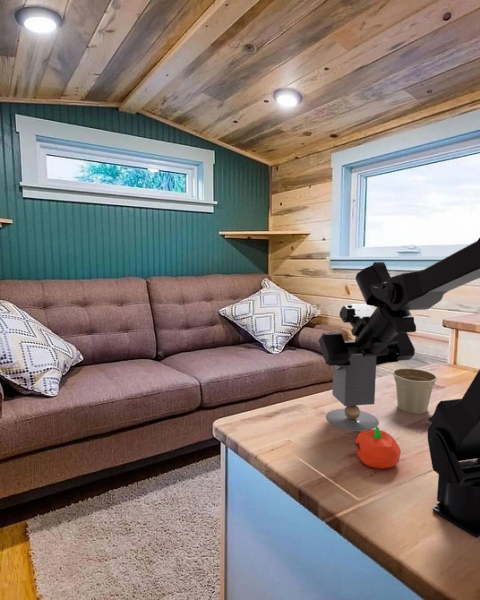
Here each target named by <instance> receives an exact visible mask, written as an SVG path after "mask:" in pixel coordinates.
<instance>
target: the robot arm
mask: <svg viewBox="0 0 480 600" xmlns="http://www.w3.org/2000/svg"><path fill="white" fill-rule="evenodd" d="M387 268H388V267H387V265H386V264H385V262H384V261H374V262H373V264H372V265H369V266H367V267H365V268H363V269H362V270H360V271H359V272H357V274H356V275H355V281H356V284H357V286H358V288H359V290H360V292H361V295H362V298H363V300H364V301H365V303H353V304H352V303H351V304H344V305H343V306H342V307H341V309H339V310H340V311H339V318H340V319H341V321H342V322H343V323H345V324H346V323H348V324H350V326H351V327H352V328H351V330H350V332H351V334H352V336H353V337H355V338H354V341H355V342H348V343H345V341H346V340H345V339H344V336H343V334H342V333H341V332H324V333H322V335H321V336H320V337H319V339H318V344H319V347H320V349H321V350H320V351H321V353H322V355H323V359H324V362H325V364H326V365H328V366H329V367H330V366H332V367H333V365H335V369H336V370H339V369H342V368H344V367H347V366H349V365H351V364H350V361H349V358H350V357H351V355H360V354H363V357H370V356H377V357H376V367H378V366H381V365H383V366H384V365H386V364H392V363H398V362H400V361H402V362H403V361H410V360H411V359H412V358H413V357H414V356H415V354H416V353H415V352H416V348H415V346H414V345H413V343H412V340H411V338H410V336H409V334H408V333H416V331H417V326H416V325H417V324H416V323H415V318H414V316H412V314H411V311H423V310H424V311H425V310H429V309H431V308H432V307H434V306H436V304H438V303H439V302H441V301H443V297H444V295H445V294H447V293H448V292H450V291H451V290H454V289H457V288H459V287H461V286H463V285H467V284H468V283H472V282H473V281H476V280H478V279H480V237H479V238H478V239H477V240H476V241H474V242H472V243H470V244H468V245H467V246H464V247H463V248H461V249H459V250H458V251H455V252H454V253H451V254H449V256H446V257H445V258H442V259H440V260H439V261H437V262H435V263H433V264H432V265H430V266H427V267H425V268H424V269H421V270H417V271H410V272H403V273H400V274H397V275H392V276H391V274H390V272H389V271H388V269H387ZM373 307H375V309H374V308H373ZM427 421H428V422H429V426H428V428H427V443H428V449H429V455H430V462H431V467H432V471H434V472H435V473H436V474H437V475H438V476H437V477H438V479H437V492H436V500H437V502H438V503H436V504H434V505H433V506H432V511H433V512H434V513H436V514H437V515H439V516H441V517H442V518H443V519H446V520H448V521H449V522H450V523H452V524H454V525H456V526H457V527H458V528H461V529H462V530H463V531H465V532H468V533H469V534H470V535H472V536H473V537H477V538H479V537H480V368H479V370H478V371H477V373H476V375H475V376H474V378H473V379H472V381H471V382H470V384H469V386H468V388H467V389H466V391H465V392H464V394H463V396H462V397H461V398H455V399H448V400H447V399H446V400H440V401H439V402H438V403H437V404H436V407H435V410H434V413H433V414H432V415H431V416H430V417H428V418H427Z"/></svg>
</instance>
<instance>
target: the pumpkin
mask: <svg viewBox="0 0 480 600" xmlns="http://www.w3.org/2000/svg"><path fill="white" fill-rule="evenodd" d="M354 445H355V446H354V447H355V453H356V454H357V457H358V458H359V460H361V462H362V463H363V464H364V465H366V466H368V467H371V468H373V469H381V470H383V469H389V468H392V467H395V466H396V465H397V464H398V462H400V457H401V452H402V451H401V448H400V445H399V444H398V442H397V441H396V440H395V438H393V436H391V434H389V433H387V432H386V431H385V430H380V427H378V426H377V427H376V428H374V429H371V430H365V431H360V433H358V434H357V436H356V438H355V442H354Z"/></svg>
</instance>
